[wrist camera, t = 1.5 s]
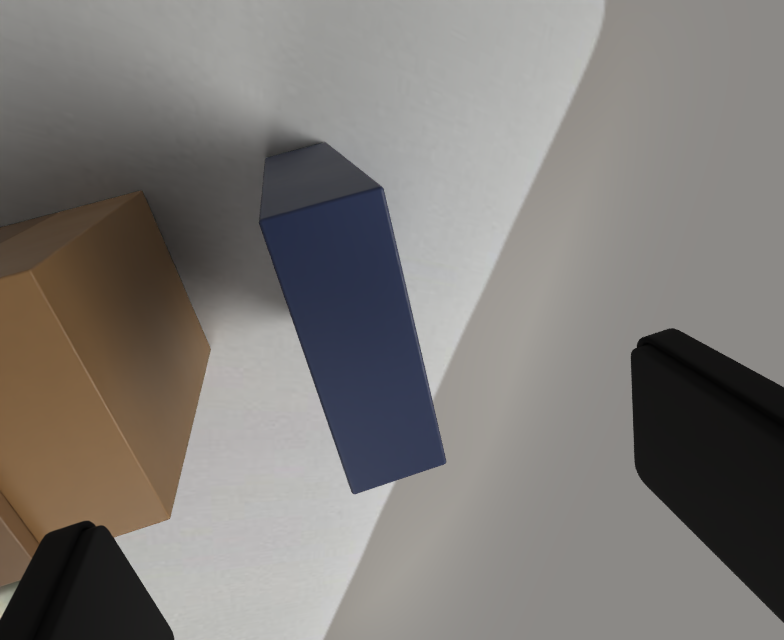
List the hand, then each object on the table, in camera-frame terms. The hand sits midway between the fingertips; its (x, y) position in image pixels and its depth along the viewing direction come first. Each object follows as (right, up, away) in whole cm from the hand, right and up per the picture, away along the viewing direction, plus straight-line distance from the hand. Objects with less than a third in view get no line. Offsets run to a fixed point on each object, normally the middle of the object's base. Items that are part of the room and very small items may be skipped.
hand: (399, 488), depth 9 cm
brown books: (-13, +4, +14) cm, 20 cm away
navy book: (-4, +7, +16) cm, 17 cm away
